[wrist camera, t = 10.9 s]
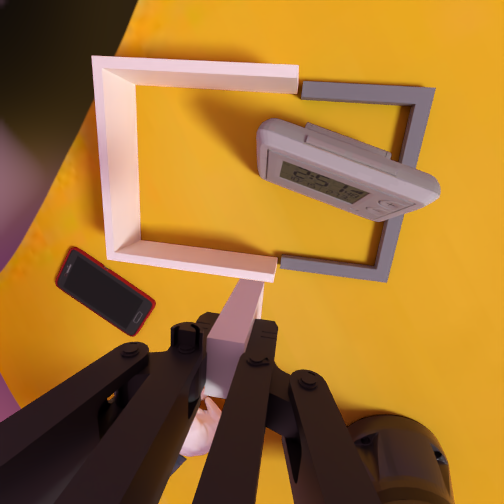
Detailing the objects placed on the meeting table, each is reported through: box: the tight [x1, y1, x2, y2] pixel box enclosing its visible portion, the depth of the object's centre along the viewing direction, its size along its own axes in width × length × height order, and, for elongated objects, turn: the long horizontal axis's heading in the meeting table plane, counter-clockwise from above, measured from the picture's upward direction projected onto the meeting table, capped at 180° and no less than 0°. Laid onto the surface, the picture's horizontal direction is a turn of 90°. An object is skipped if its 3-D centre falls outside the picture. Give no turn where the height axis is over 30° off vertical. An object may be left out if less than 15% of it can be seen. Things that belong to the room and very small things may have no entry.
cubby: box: [92, 56, 299, 283], centre depth 32 cm, size 20×21×6 cm
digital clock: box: [256, 118, 441, 222], centre depth 28 cm, size 16×9×11 cm, turn 59°
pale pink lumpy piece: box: [179, 388, 222, 456], centre depth 42 cm, size 6×8×12 cm
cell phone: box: [55, 247, 156, 337], centre depth 42 cm, size 8×15×1 cm, turn 56°
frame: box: [280, 81, 436, 283], centre depth 32 cm, size 13×21×1 cm, turn 175°
